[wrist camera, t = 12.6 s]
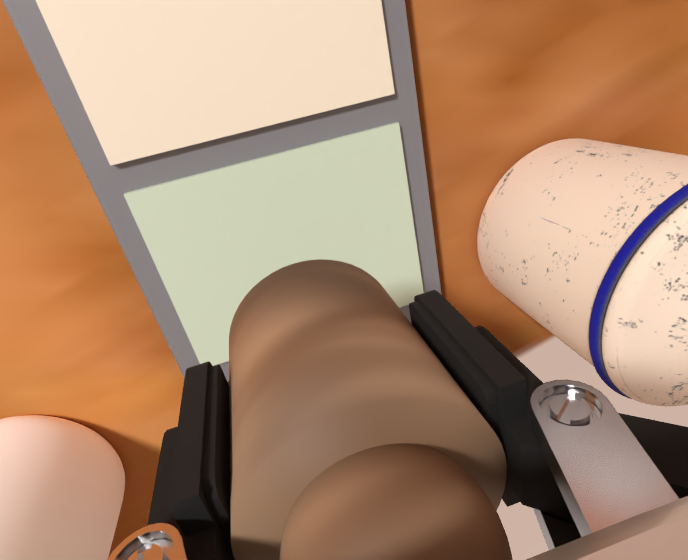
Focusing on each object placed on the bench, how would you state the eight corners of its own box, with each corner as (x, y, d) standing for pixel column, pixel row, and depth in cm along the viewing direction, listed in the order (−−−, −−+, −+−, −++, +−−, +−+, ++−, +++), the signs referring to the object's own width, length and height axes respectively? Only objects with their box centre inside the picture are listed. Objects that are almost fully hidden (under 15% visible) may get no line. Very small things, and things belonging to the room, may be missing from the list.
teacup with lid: (496, 329, 25) (686, 508, 14) (445, 189, 21) (663, 299, 10) (680, 228, 25) (1000, 332, 15) (668, 67, 21) (1106, 54, 10)
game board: (286, -846, 10) (291, -950, 9) (437, 305, 23) (446, 315, 22) (-393, -854, 8) (-479, -983, 7) (192, 382, 22) (191, 397, 21)
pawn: (380, 237, 12) (639, 496, 5) (406, 376, 14) (609, 705, 7) (203, 290, 12) (158, 691, 4) (258, 426, 14) (298, 850, 6)
